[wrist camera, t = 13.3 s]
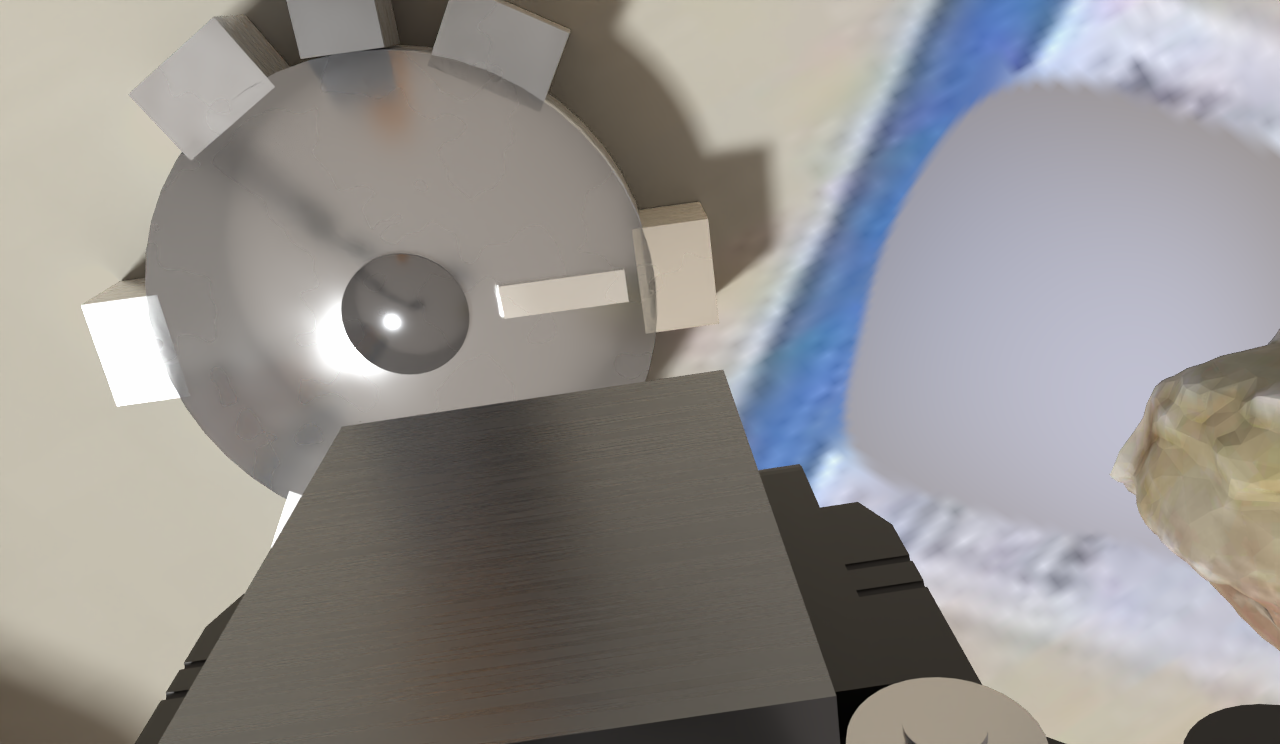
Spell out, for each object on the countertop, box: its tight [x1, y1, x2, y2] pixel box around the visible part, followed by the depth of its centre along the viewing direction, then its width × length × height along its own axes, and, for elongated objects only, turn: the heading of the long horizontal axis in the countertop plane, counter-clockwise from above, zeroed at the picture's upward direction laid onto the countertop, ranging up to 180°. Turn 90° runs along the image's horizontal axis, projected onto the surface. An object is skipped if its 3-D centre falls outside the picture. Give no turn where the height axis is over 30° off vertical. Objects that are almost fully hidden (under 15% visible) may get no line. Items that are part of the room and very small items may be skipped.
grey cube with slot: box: [158, 370, 840, 744], centre depth 8 cm, size 4×4×5 cm
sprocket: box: [81, 0, 719, 548], centre depth 24 cm, size 15×14×2 cm
